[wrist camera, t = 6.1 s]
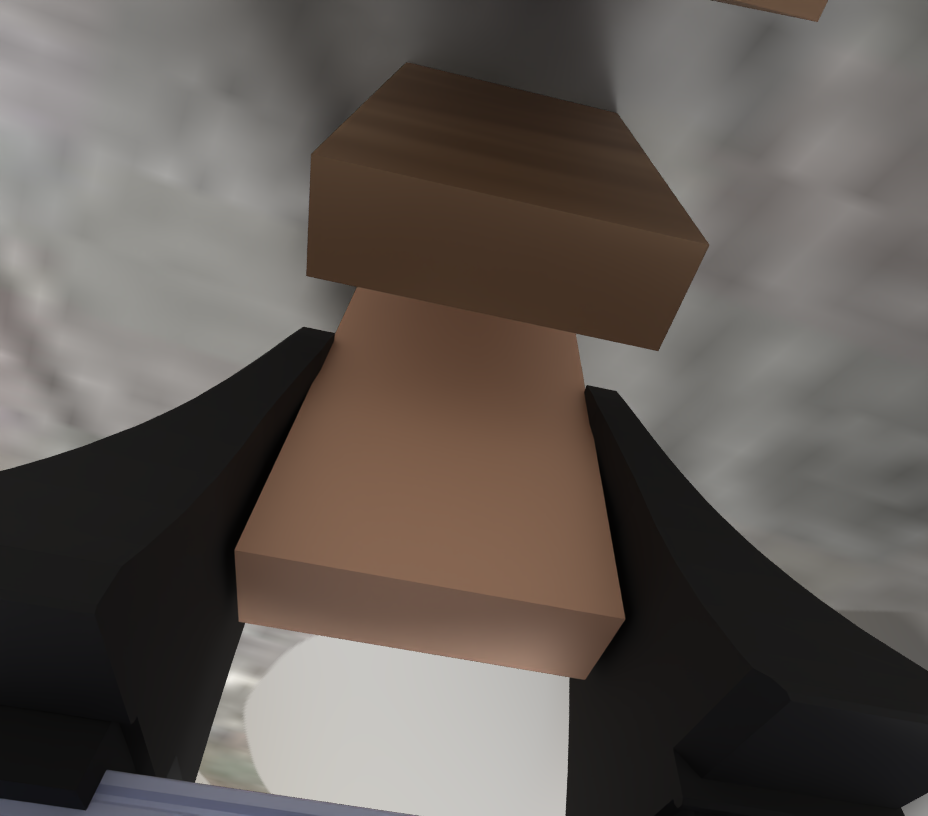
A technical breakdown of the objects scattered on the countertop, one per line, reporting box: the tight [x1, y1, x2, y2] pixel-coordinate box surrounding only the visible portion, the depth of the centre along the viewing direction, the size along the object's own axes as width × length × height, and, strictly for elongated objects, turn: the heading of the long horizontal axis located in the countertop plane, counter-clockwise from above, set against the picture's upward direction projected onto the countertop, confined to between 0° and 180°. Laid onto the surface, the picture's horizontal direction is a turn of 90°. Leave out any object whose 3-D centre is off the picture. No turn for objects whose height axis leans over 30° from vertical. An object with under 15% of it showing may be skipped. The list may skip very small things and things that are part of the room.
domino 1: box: [306, 62, 709, 351], centre depth 11 cm, size 2×5×8 cm, turn 79°
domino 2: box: [234, 287, 625, 680], centre depth 11 cm, size 2×5×8 cm, turn 78°
